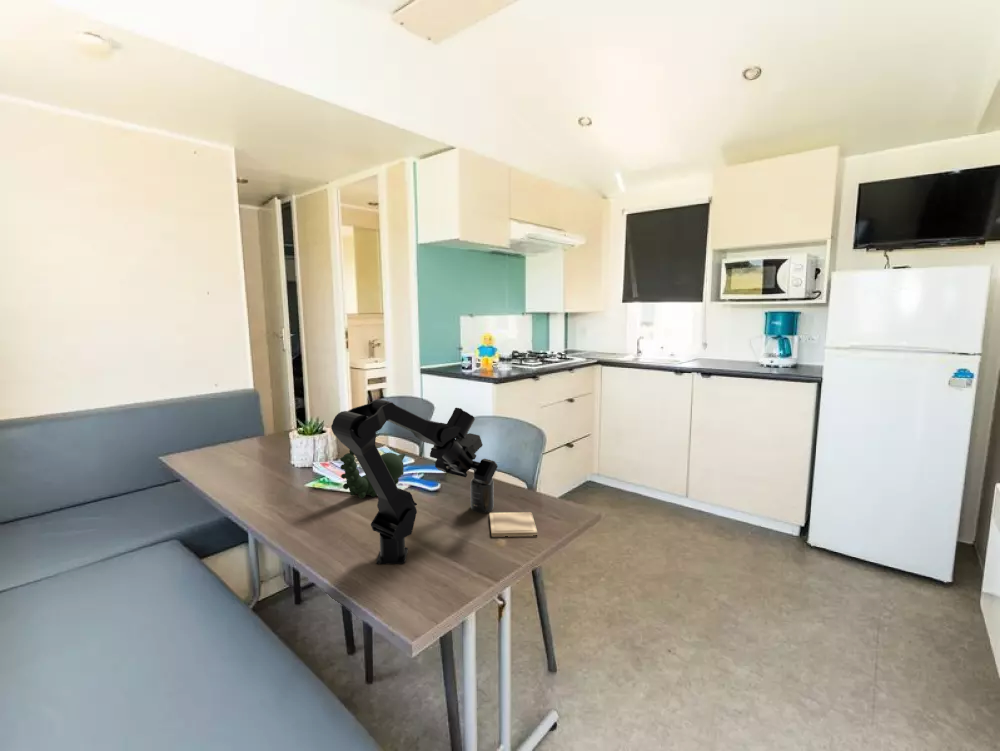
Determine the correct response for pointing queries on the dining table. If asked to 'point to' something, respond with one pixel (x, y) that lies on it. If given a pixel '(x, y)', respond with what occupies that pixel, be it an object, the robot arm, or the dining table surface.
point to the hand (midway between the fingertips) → (478, 479)
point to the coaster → (512, 524)
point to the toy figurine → (362, 483)
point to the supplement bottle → (482, 496)
